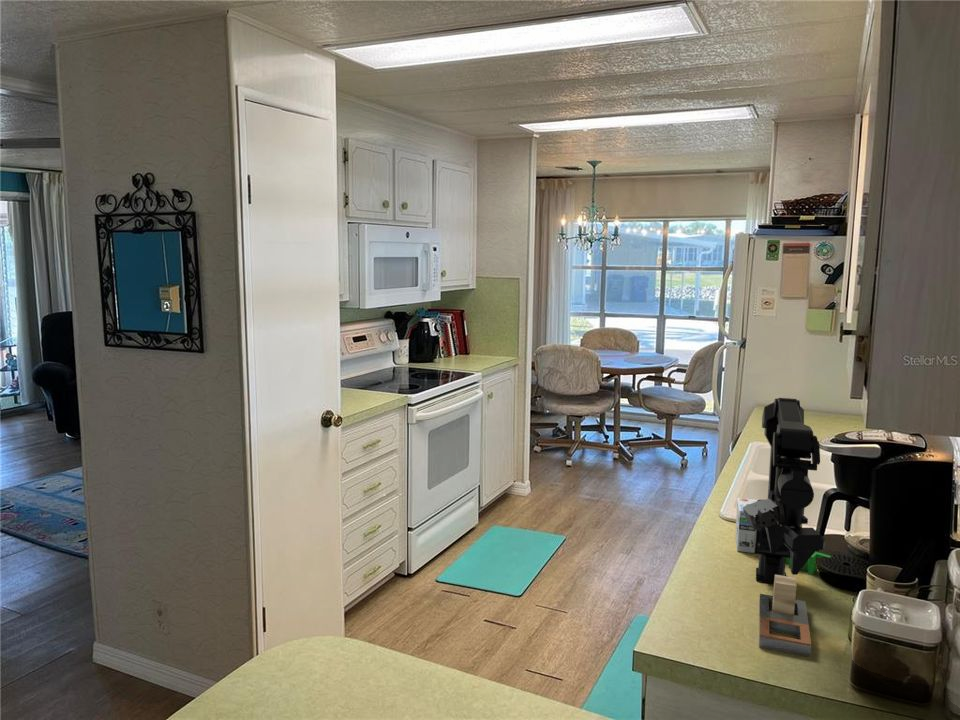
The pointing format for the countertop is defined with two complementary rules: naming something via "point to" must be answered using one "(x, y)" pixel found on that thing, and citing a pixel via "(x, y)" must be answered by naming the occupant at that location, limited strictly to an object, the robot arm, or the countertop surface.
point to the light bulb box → (744, 528)
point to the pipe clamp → (810, 562)
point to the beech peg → (784, 594)
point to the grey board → (784, 628)
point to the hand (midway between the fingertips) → (783, 563)
